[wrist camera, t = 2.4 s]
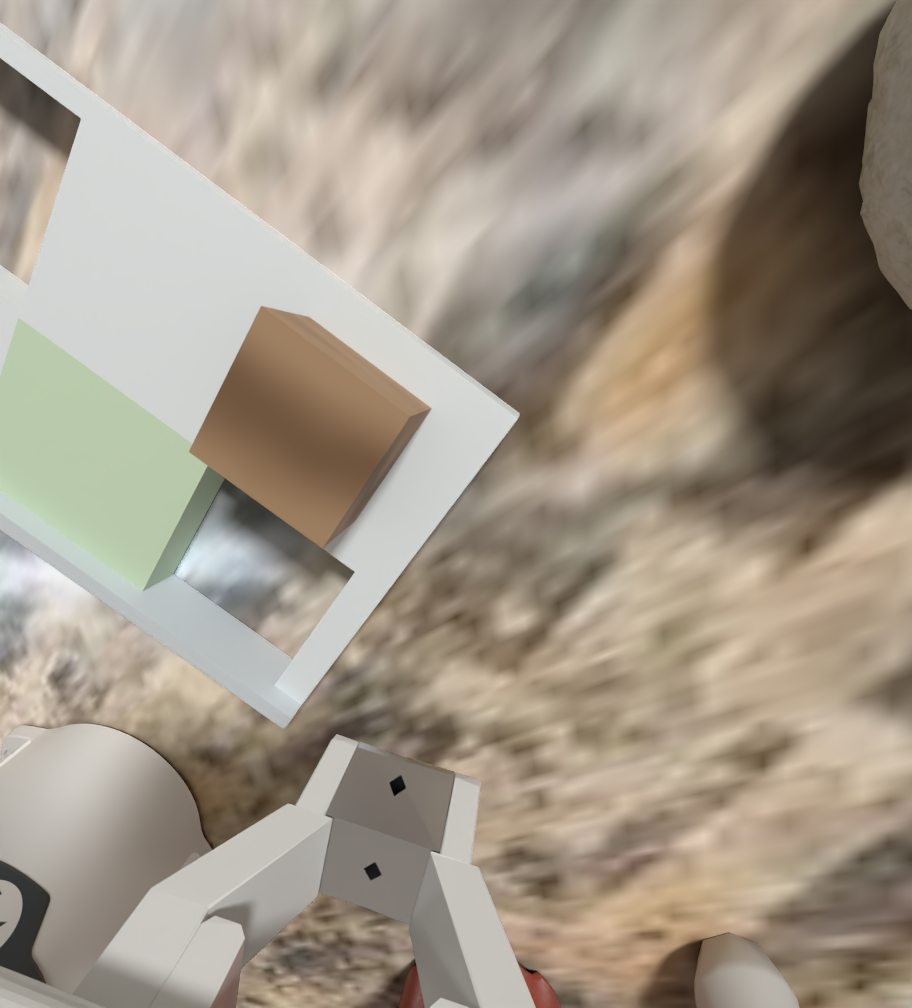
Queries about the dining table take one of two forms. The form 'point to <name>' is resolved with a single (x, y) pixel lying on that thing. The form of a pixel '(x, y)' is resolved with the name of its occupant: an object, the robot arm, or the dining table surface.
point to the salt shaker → (739, 976)
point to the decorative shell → (891, 152)
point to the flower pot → (537, 985)
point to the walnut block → (306, 424)
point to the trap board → (189, 396)
